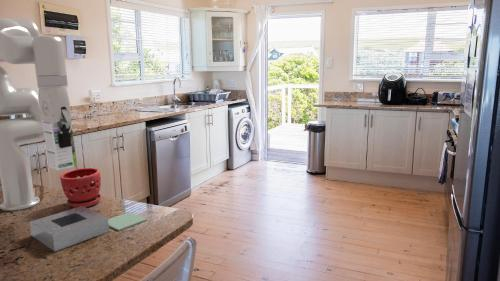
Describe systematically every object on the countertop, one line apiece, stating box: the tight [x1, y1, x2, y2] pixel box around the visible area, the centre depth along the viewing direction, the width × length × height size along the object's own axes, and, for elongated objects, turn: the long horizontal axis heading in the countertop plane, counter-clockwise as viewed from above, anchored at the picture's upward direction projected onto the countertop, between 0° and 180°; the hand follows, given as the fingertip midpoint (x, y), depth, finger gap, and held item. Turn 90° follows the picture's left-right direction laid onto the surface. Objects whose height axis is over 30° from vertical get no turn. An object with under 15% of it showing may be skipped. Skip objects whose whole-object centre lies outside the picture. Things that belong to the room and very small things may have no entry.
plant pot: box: [59, 167, 102, 208], centre depth 139 cm, size 13×13×12 cm
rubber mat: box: [108, 211, 148, 232], centre depth 123 cm, size 10×10×1 cm
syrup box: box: [42, 120, 78, 171], centre depth 109 cm, size 6×6×14 cm
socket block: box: [29, 206, 110, 252], centre depth 114 cm, size 16×16×4 cm
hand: (60, 145), depth 110 cm, fingers closed on syrup box, 5 cm apart
